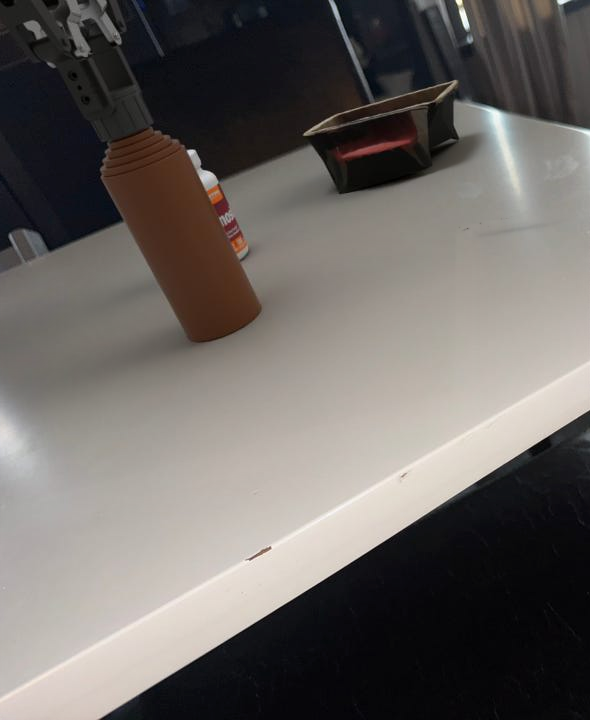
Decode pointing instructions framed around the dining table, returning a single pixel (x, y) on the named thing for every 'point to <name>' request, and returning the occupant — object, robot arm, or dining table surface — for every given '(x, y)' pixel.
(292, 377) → the dining table surface
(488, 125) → the dining table surface
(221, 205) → the pill bottle
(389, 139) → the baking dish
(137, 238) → the sauce bottle
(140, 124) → the cap
